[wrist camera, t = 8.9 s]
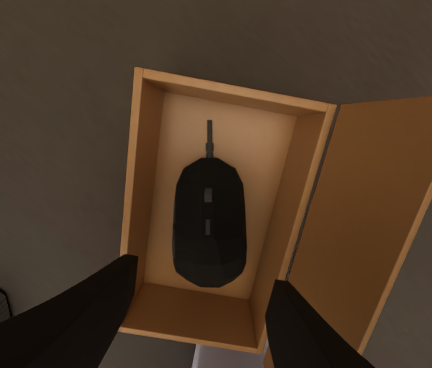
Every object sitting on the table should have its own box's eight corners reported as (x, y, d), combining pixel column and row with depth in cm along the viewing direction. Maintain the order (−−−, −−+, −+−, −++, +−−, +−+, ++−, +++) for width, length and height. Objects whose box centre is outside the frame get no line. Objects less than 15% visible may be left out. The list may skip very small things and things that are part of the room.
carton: (160, 84, 18) (134, 66, 12) (302, 111, 18) (337, 104, 12) (139, 282, 22) (113, 331, 17) (252, 300, 22) (262, 354, 17)
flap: (471, 92, 7) (478, 93, 7) (341, 104, 12) (345, 105, 12) (301, 479, 11) (307, 478, 11) (262, 362, 16) (266, 362, 17)
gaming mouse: (249, 119, 18) (257, 118, 14) (243, 280, 21) (248, 315, 17) (170, 119, 18) (156, 118, 14) (177, 279, 21) (168, 313, 18)
